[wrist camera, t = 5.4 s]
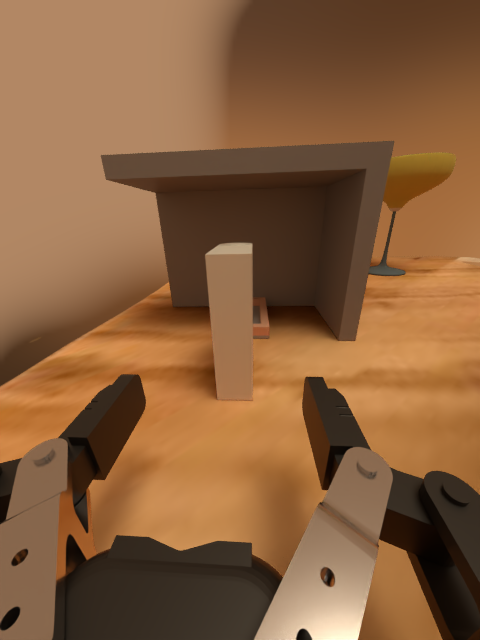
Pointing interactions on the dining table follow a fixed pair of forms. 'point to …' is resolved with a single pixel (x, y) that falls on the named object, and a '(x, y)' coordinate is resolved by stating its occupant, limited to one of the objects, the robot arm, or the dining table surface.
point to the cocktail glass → (411, 189)
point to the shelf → (270, 221)
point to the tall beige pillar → (231, 318)
